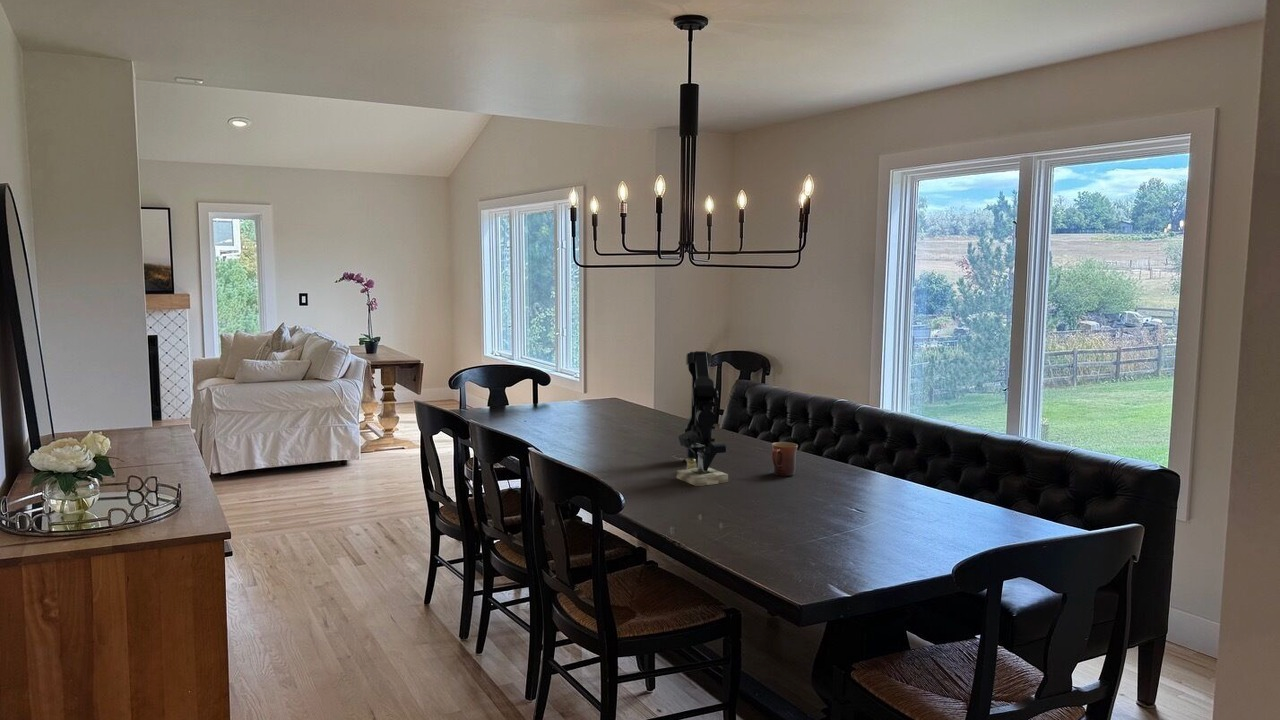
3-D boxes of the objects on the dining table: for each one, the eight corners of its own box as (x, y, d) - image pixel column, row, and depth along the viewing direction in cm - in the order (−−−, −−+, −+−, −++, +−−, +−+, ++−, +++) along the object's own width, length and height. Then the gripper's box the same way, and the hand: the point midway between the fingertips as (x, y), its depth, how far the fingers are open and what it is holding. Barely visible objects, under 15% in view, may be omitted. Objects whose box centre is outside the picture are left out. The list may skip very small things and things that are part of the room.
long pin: (694, 478, 286) (694, 450, 285) (703, 476, 288) (704, 449, 287) (700, 480, 282) (701, 453, 281) (710, 479, 284) (711, 452, 283)
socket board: (676, 478, 287) (676, 470, 287) (707, 474, 293) (707, 466, 293) (696, 486, 277) (697, 477, 276) (727, 482, 283) (728, 474, 282)
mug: (778, 470, 301) (779, 441, 300) (801, 474, 296) (802, 444, 295) (761, 476, 291) (762, 446, 290) (784, 480, 286) (785, 449, 285)
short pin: (683, 471, 297) (683, 458, 296) (693, 470, 298) (693, 457, 298) (689, 474, 293) (690, 460, 293) (699, 472, 295) (699, 459, 295)
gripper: (667, 419, 287) (666, 466, 289) (698, 429, 271) (697, 478, 273) (695, 417, 293) (694, 463, 294) (728, 426, 276) (726, 474, 278)
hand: (702, 469), depth 285 cm, fingers closed on long pin, 3 cm apart
